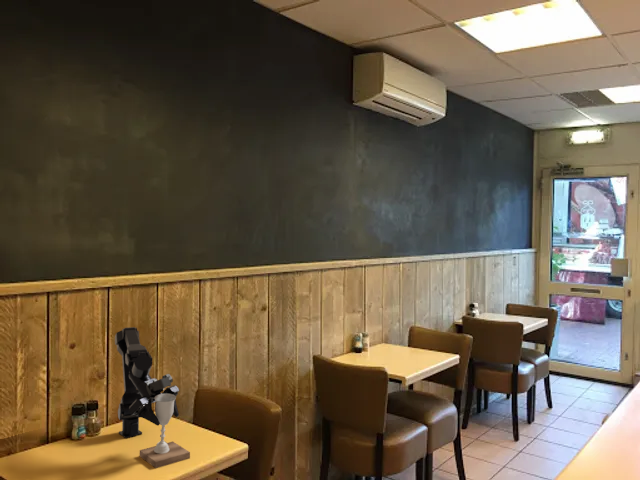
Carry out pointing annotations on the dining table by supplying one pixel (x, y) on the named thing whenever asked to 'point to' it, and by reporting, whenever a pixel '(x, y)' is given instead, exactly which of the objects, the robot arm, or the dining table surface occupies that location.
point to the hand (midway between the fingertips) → (168, 420)
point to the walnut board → (165, 455)
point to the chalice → (163, 418)
